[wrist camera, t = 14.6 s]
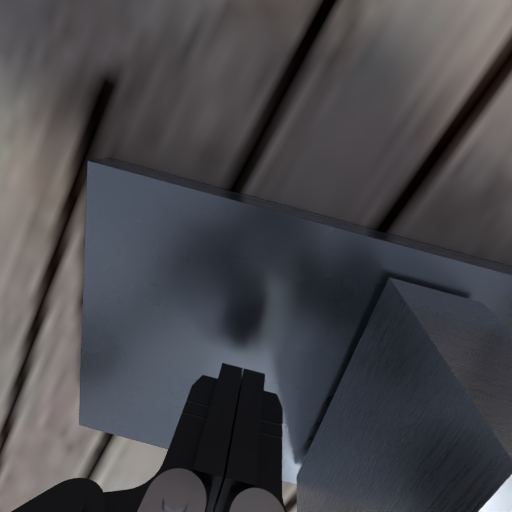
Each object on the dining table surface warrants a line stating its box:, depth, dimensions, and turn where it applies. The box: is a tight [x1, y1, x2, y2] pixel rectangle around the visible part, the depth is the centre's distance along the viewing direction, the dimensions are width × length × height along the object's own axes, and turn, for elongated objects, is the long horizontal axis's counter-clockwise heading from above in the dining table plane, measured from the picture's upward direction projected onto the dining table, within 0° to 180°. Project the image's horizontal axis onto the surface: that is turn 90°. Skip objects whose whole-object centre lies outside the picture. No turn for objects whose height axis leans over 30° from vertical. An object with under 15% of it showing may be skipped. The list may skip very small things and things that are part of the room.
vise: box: [79, 158, 512, 484], centre depth 10 cm, size 22×12×7 cm, turn 76°
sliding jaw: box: [297, 277, 512, 512], centre depth 8 cm, size 3×10×7 cm, turn 166°
